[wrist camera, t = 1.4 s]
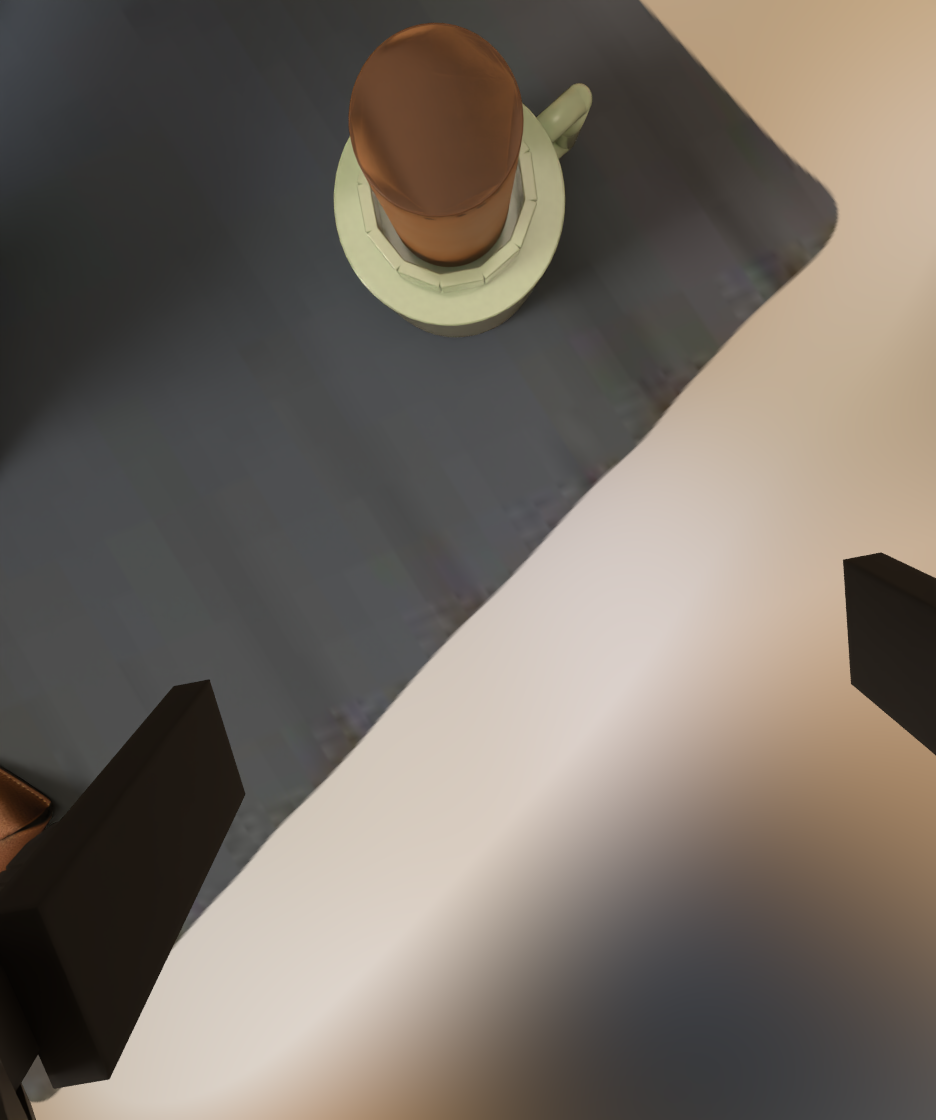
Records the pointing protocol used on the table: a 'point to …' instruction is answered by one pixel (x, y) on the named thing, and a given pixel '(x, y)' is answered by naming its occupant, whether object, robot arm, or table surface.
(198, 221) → the table surface
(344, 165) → the jug
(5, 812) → the sunglasses case
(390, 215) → the brown cylindrical canister
